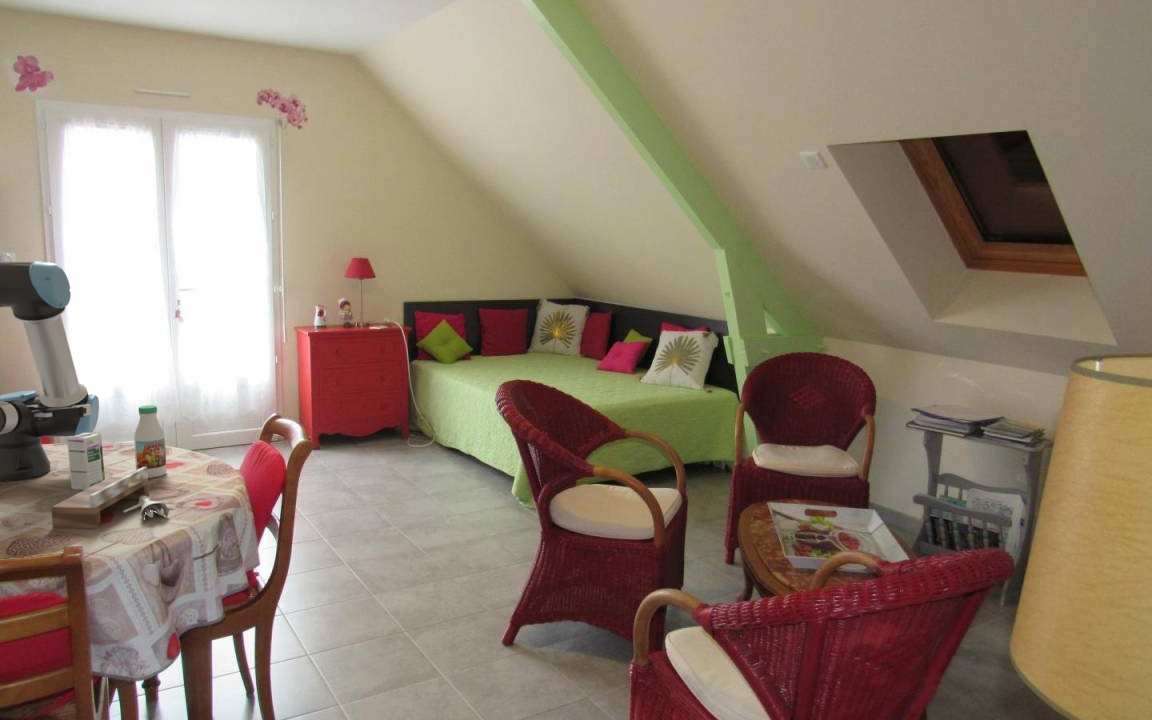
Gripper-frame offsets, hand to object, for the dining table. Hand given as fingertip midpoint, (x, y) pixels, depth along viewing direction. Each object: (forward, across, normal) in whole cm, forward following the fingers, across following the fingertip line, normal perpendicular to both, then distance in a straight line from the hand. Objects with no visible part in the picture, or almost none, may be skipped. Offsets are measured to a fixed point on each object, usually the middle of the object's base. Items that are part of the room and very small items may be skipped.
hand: (63, 409), depth 206 cm
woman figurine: (-8, +26, -26) cm, 37 cm away
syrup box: (+11, -1, -22) cm, 25 cm away
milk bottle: (+23, +10, -21) cm, 33 cm away
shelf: (-8, +15, -25) cm, 30 cm away
